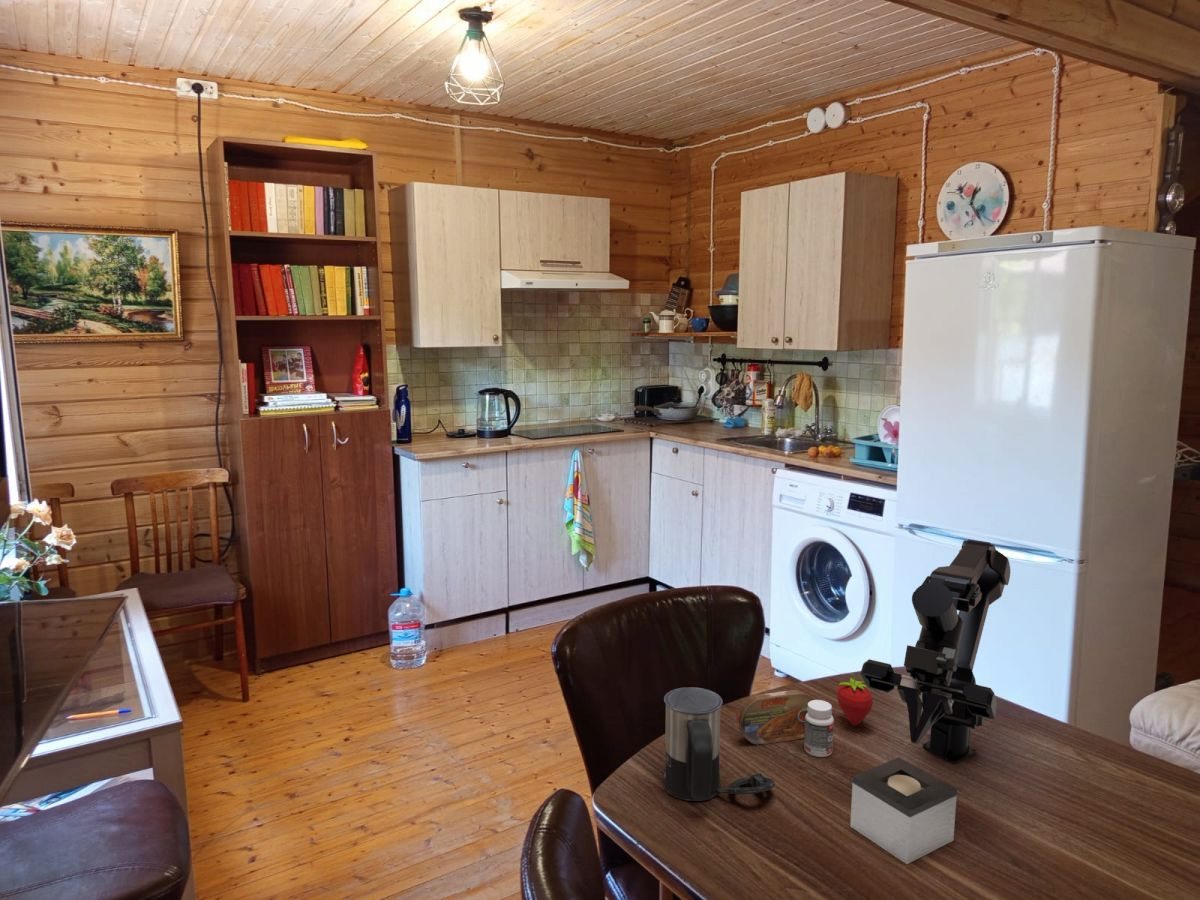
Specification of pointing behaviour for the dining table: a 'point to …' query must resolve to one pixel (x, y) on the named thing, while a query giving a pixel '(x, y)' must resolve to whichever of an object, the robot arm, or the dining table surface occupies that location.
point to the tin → (773, 717)
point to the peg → (904, 784)
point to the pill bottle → (819, 729)
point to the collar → (903, 811)
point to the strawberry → (854, 700)
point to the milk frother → (698, 748)
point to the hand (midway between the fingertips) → (913, 742)
